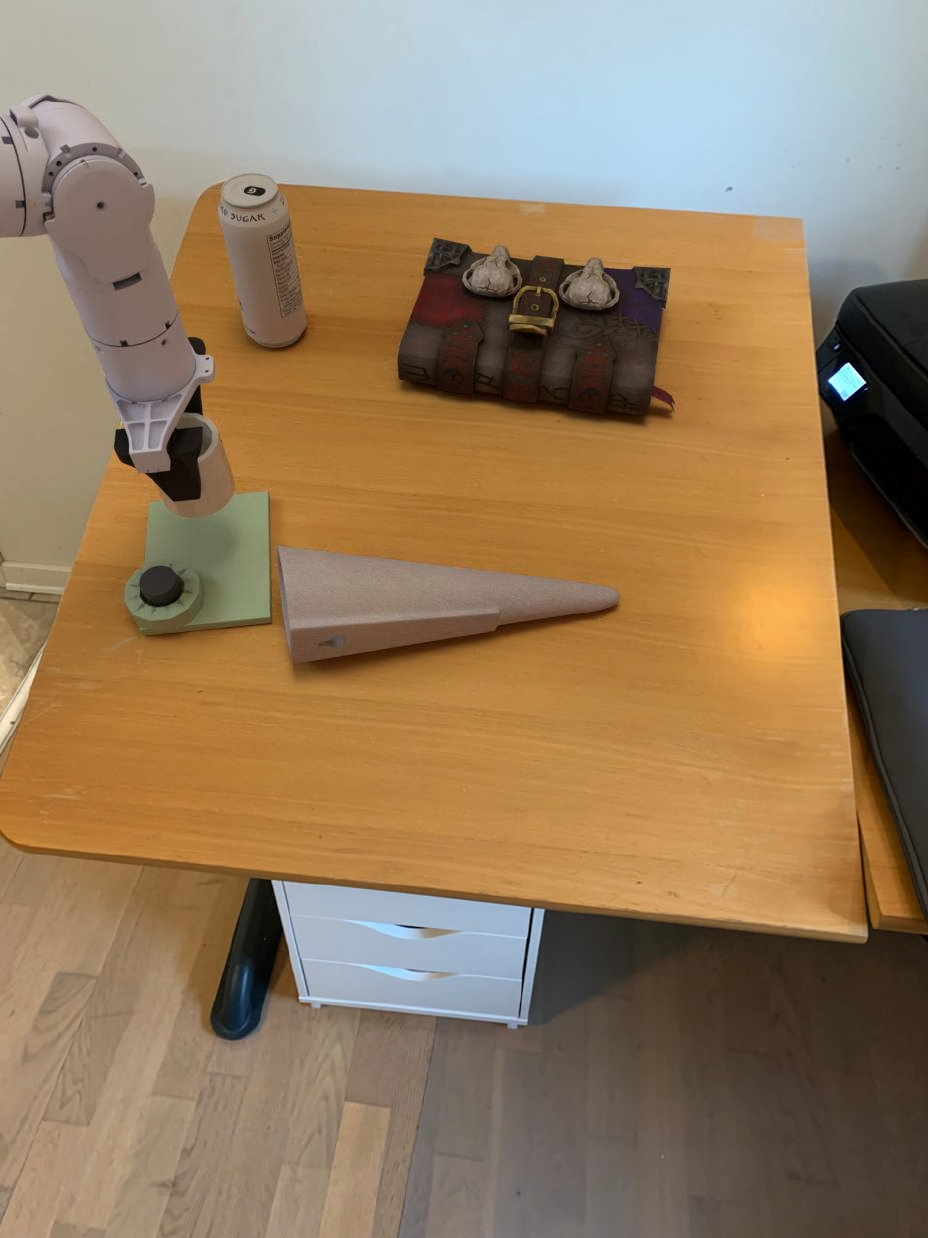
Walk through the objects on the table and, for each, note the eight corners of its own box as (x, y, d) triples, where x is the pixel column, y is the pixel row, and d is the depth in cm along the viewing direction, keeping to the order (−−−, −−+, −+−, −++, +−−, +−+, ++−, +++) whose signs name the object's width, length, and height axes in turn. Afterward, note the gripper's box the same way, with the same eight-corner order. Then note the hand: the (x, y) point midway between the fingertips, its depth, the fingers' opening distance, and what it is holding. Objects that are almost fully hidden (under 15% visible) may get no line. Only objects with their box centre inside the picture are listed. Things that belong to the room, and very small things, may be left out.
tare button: (143, 608, 71) (137, 596, 70) (145, 578, 73) (140, 567, 72) (180, 604, 72) (175, 593, 70) (182, 575, 73) (177, 563, 72)
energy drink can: (261, 305, 94) (231, 163, 82) (317, 317, 93) (295, 175, 81) (236, 344, 91) (201, 202, 78) (293, 357, 90) (267, 215, 77)
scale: (130, 641, 72) (121, 623, 70) (141, 509, 79) (133, 489, 77) (272, 626, 73) (267, 609, 71) (270, 497, 80) (265, 477, 78)
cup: (160, 522, 70) (137, 473, 65) (164, 466, 73) (143, 415, 68) (234, 515, 70) (217, 465, 65) (235, 459, 73) (218, 408, 68)
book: (388, 390, 88) (383, 326, 82) (433, 273, 97) (432, 208, 91) (671, 436, 85) (688, 374, 79) (688, 311, 94) (705, 247, 88)
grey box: (600, 492, 75) (274, 523, 69) (636, 576, 70) (289, 617, 64) (579, 554, 81) (278, 587, 75) (611, 635, 76) (292, 677, 70)
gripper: (192, 392, 54) (242, 536, 65) (199, 237, 62) (243, 390, 73) (68, 404, 53) (140, 547, 65) (91, 246, 61) (151, 399, 73)
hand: (188, 465), depth 69 cm, fingers closed on cup, 5 cm apart
